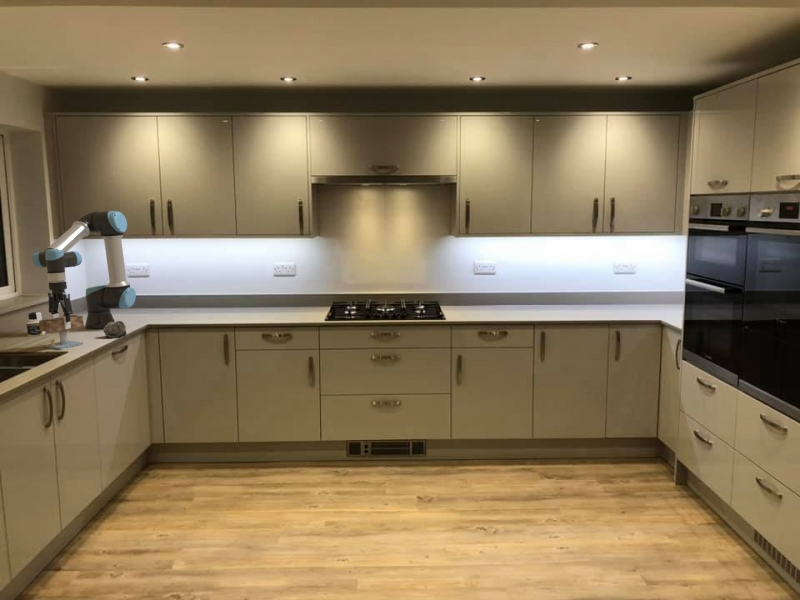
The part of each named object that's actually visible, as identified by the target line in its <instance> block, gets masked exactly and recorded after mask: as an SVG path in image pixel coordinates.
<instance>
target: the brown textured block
mask: <svg viewBox="0 0 800 600" xmlns="http://www.w3.org/2000/svg"><path fill="white" fill-rule="evenodd" d="M70 324H71V328H69V329H68V330H70V329H74V328H80V327H84V326H85V325H84V316H83V315H79V314H71V315H70ZM39 325H40V331H44V332H46V333H54V332H59V331H60V330H65V327H64V318H63V316H59V317H57V318H53V317H52V318H47V319H42V320H40V321H39Z"/></svg>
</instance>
